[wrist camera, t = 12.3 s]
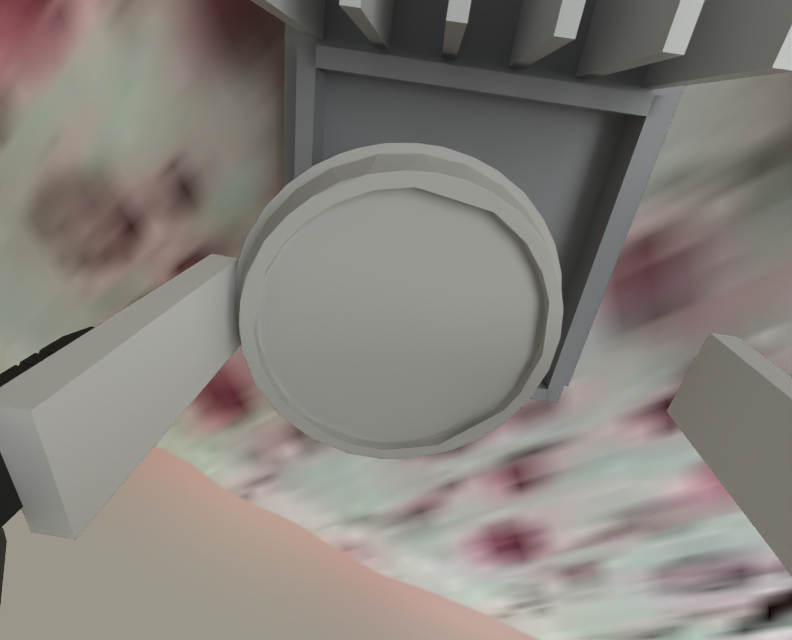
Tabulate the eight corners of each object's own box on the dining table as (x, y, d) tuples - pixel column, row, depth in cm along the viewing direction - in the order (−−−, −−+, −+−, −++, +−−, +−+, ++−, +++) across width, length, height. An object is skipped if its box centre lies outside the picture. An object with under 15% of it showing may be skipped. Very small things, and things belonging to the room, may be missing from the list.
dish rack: (561, 372, 27) (619, 490, 18) (288, 329, 27) (222, 425, 19) (726, -69, 17) (1013, -254, 9) (298, -129, 17) (167, -363, 9)
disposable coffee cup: (309, 315, 24) (260, 483, 13) (279, 134, 19) (169, 160, 9) (473, 303, 24) (558, 457, 13) (479, 121, 20) (612, 132, 9)
